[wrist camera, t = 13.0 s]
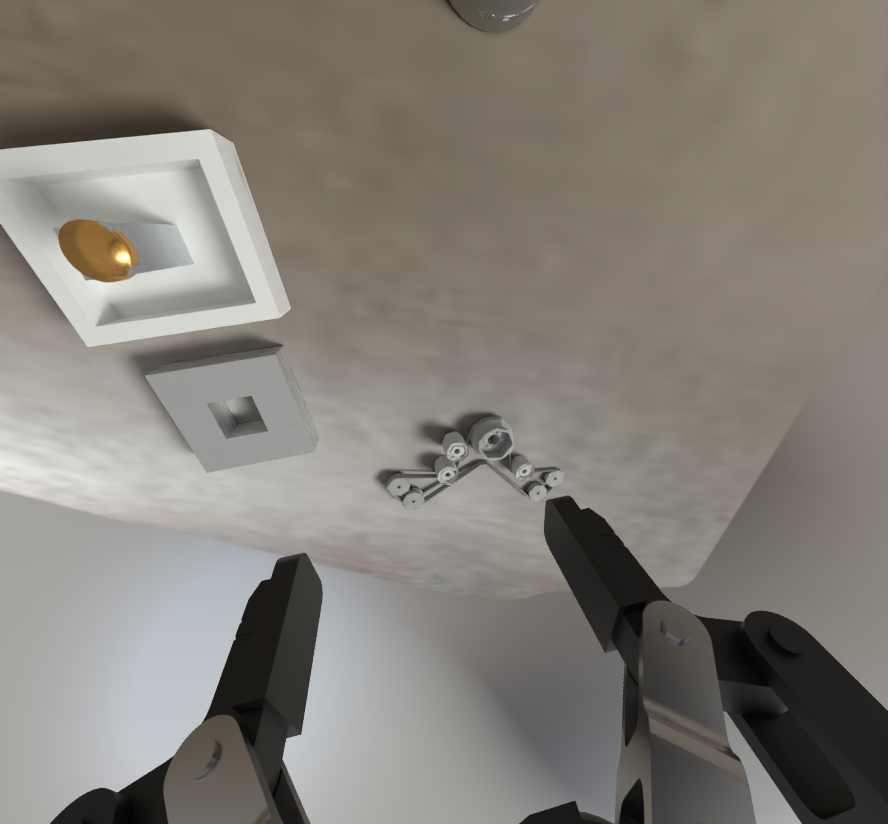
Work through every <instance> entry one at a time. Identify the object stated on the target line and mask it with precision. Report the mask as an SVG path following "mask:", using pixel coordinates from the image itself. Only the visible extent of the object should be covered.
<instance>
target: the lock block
mask: <svg viewBox="0 0 888 824" xmlns="http://www.w3.org/2000/svg"><path fill="white" fill-rule="evenodd" d="M145 377H146V379H147V381H148V382H149V384H150V385H151V387H152V388H153V390H154V391H155V393H156V395H157V396H158V398H159V399H160V401H161V402H162V404H163V405H164V407H165V408H166V410H167V412H168V413H169V415H170V416H171V418H172V419H173V421H174V422H175V424H176V426H177V427H178V429H179V430H180V432H181V433H182V435H183V436H184V438H185V439H186V441H187V443H188V444H189V446H190V447H191V449H192V450H193V452H194V453H195V455H196V457H197V458H198V460H199V461H200V463H201V464H202V466H203V467H204V469H205V470H206V472H207V473H208V472H213V471H218V470H223V469H229V468H234V467H239V466H244V465H249V464H254V463H260V462H265V461H270V460H275V459H280V458H286V457H291V456H296V455H301V454H306V453H312V452H315V449H316V446H317V442H318V439H319V437H318V434H317V432H316V429H315V426H314V424H313V421H312V418H311V416H310V413H309V411H308V408H307V405H306V403H305V400H304V398H303V395H302V392H301V390H300V387H299V384H298V382H297V379H296V377H295V374H294V371H293V369H292V366H291V364H290V361H289V358H288V356H287V353H286V351H285V348H284V345H282V346H276V347H270V348H263V349H257V350H251V351H245V352H238V353H232V354H226V355H220V356H213V357H207V358H201V359H195V360H189V361H182V362H176V363H170V364H164V365H162V366H160V367H158V368H157V369H155V370H153V371H152V372H150V373H148V374H147V375H145ZM248 396H252V398H253V400H254V402H255V404H256V406H257V408H258V411H259V413H260V415H261V417H262V419H263V420H260V421H254V422H249V423H243V424H238V425H237V423H236V421H235V420H234V418H233V416H232V414H231V412H230V410H229V408H228V406H227V404H226V403H225V400H231V399H236V398H242V397H248Z"/></svg>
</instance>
